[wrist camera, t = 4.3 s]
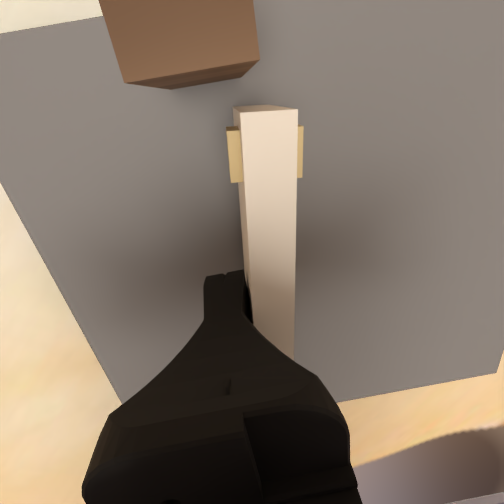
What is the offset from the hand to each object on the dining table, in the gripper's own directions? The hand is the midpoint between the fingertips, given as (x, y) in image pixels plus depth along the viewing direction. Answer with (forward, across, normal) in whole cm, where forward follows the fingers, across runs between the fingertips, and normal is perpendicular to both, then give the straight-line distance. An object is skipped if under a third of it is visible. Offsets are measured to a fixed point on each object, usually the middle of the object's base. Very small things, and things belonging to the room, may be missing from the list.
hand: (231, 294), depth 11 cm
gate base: (+3, -4, +1) cm, 5 cm away
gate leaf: (+2, -1, 0) cm, 2 cm away
